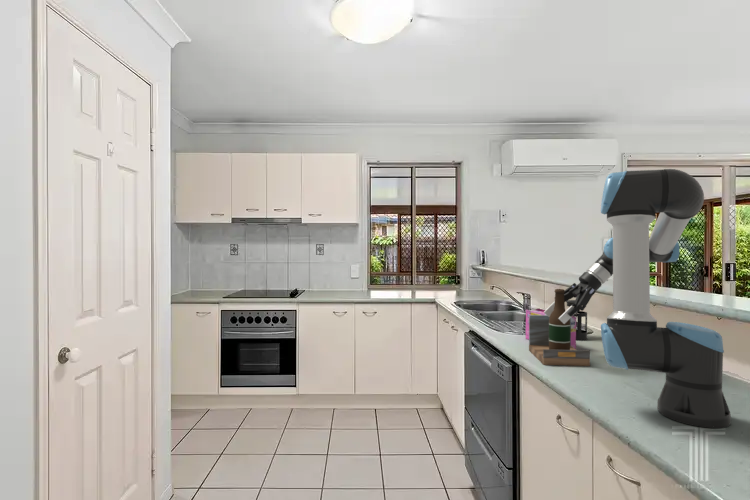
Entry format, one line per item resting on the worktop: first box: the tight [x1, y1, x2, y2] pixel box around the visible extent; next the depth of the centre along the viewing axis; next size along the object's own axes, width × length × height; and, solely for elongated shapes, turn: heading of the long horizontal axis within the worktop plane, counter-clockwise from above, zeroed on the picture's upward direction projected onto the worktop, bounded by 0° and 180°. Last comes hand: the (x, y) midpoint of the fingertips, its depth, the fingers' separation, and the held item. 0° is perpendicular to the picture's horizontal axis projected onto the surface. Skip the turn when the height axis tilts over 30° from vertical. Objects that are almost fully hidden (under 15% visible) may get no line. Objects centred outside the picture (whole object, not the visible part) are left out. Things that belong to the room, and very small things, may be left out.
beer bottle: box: [549, 288, 570, 350], centre depth 161 cm, size 8×8×24 cm
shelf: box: [528, 315, 591, 367], centre depth 163 cm, size 20×16×14 cm
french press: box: [566, 299, 588, 342], centre depth 195 cm, size 12×9×23 cm
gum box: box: [525, 308, 577, 350], centre depth 185 cm, size 24×8×14 cm, turn 19°
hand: (553, 317), depth 160 cm, fingers open, 13 cm apart
